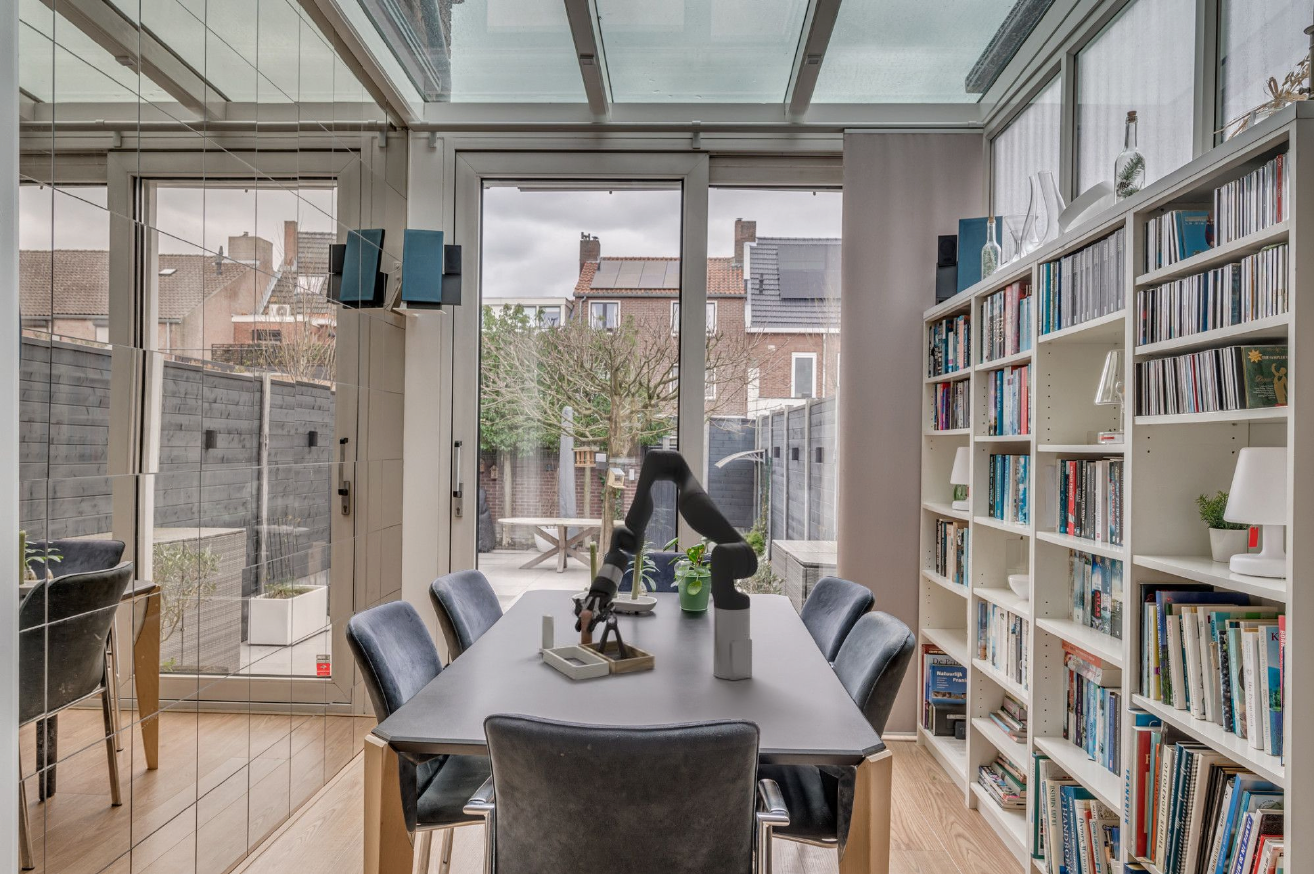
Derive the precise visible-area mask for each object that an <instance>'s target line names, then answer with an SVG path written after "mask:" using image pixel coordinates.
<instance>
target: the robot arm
mask: <svg viewBox="0 0 1314 874" xmlns="http://www.w3.org/2000/svg"><path fill="white" fill-rule="evenodd" d="M642 461H643V462H642V464H641V468H640V473H639V476H638V481H637V484H636V489H635V493H634V496H633V498H632V499H633V500H632V502H631V505H630V506H629V509H628V510H627V514H626V516H625V518H624V525H625V526H624V525H619V526H617V527H615V528H614V529H613V530H612V533H611V536H610V544H609V548H608V549H609V550H608V552H607V555H606V557H605V559H604V561H603V563H602V565H601V567H600V569H599V570H598V572H597V574H596V575H595V577H594V578H593V579H594V580H593V581H592V583H591V585H590V587H589V591H588V594H587V595H586V596H585V597H584V598H583V599H582V598H581V599H580V597H577V598H576V599H575V607H574V615H575V617H576V618H577V620H576V623H575V624H574V630H575V631H576V632H577V633H581V612H582V611H592V619H591V620H590V622H589V624H588V626H587V628H586V631H587V633H588V634H591V633H592V634H593V633H594V631H595V629H596V626H597V624H599V623H606V616H607V614H608V613H610V616H611V615H613V613H615V611H616V610H617V609H618V608H617V606H616V605H615V603H614V602H613V599H614V597H615V595H616V593H617V591H618V589H619V586H620V585H621V583H622V578H623V576H624V574H625V573H626V570H627V568H628V567H629V563H630V560H629V557H628V556H627V555H626V554H629V555H631V556H637V555H639V554H640V553H641V552H642V551H643V548H644V546H645V539H646V538H645V536H646V530H647V526H648V524H649V523H650V520H651V518H652V516H653V512H654V508H655V507H654V500H653V497H652V492H651V491H652V490H651V489H652V487H653V485H654V483H655V482H656V481H658V482H666V481H667V482H672V483H673V484H675V485H676V487H677V489H678V490H679V494H678V500H677V509H678V511H679V513H680V515H681V516H682V518H683V520H684V521H685V522H686V523H687V525H688V526H689V527H690V528H691V529H692V530H693V531H695V532H696V534H697V533H698V534H699V535H700V536H702V537H704V538H706V539H708V540H709V541H711V542H713V543H714V544H716V545H715V546H714V547H713V549H712V550H711V554H710V560H709V564H710V566H709V568H710V569H709V570H710V571H709V572H710V588H711V589H710V590H711V595H712V599H713V676H714V677H716V678H719V679H724V680H731V681H737V680H742V679H749V678H752V677H753V639H751V597H750V595H748V594H746V593H744V592H741V591H738V590H737V589H736V587H735V581H736V580H737V581H738V580H744V579H749V578H752V577H753V576H754V575H756V574H757V572H758V568H759V560H758V557H757V554H756V552H755V550H754V548H753V546H752V545H751V544H750V543H749V542H748V541H747V540H746V539H745V538H744V537H743V536H742V535H741V534H740V532H738V530H736V529H735V527H734V526H732V524H731V523H730V521H729V520H728V519H727V518H726V516H725V515H724V514H723V513H722V512H721V511H720V509H719V508H718V506H717V505H716V503H715V502H714V501H713V499H712V498H711V496H710V495H709V494H708V493H707V492H706V491H705V490H704V489H705V488H703V487H702V485H701V484H700V482H699V481H698V480H697V478H696V477H695V475H694V473H693V471H692V469H691V468H690V467H689V465H688V462H687V461H686V459H685V458H684V456H683V455H682V454H681V453H680V451H678V450H676V449H672V448H671V449H669V448H667V449H666V448H655V449H650V450H649V451H648V452H646V454H645V456H644V459H643V460H642ZM625 553H626V554H625Z"/></svg>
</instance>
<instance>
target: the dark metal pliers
mask: <svg viewBox="0 0 1314 874" xmlns="http://www.w3.org/2000/svg"><path fill="white" fill-rule="evenodd" d="M612 617H613V619H614V621H613V622H612V621H609V620H610V619H611V615H610V613H608V614H607V616H606V621H605V626H604V629H603V632H602V635H601V637H600V640H599V642H598V643H599V645H598V648H597V651H596V652H598V653H600V654H602V655H604V656H606V657H608V658H610V659H612V660H614V661H618V660H625V659H629V656H628V654H627V651H626V649H625V646H624V643H623V642H624V641H623V637H622V635H621V633H620V629H619V626H618V616H617V614H616V613H615V612H613V613H612ZM610 631H614V634H615V635H614V636H615V640H617V643H618V647H619V651H620V652H619V654H605V653H604V650H605V646H606V642H607V641H608V639H609V634H610Z"/></svg>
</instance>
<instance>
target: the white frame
mask: <svg viewBox="0 0 1314 874" xmlns="http://www.w3.org/2000/svg"><path fill="white" fill-rule="evenodd" d="M541 617H542V619H541V620H542V626H541V627H542V628H541V630H542V631H541V647H539V648H538V649H539V652H540V654H543V655H542V657H543V662H545V663H546V664H548V665H550V666H551V667H553V668H554V669H556V670H558V671H560V672H561V673H562V674H563V675H566V676H567V677H569V678H571V679H572V680H583V679H589V678H596V677H602V676H608V675H609V674H610V672H609V662H607V661H605V660H604V659H602V658H600V657H598V656H596V655H594V654H592V653H590V652H588V651H586V650H584V649H582V648H580V647H579V646H578V644H577V645H568V646H562V647H561V646H560V647H555V645H554V643H555V642H554V640H555V635H554V633H555V632H554V631H555V628H554V627H555V625H554V624H555V615H554V614H544V615H543V614H542V616H541ZM573 658H575V659H576V660H579V661H581V662H582V663H583V665H579V666H578V665H577V666H576V665H574V664H573V663H571V662H569V661H568V660H566V659H573Z"/></svg>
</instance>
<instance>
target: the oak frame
mask: <svg viewBox="0 0 1314 874" xmlns="http://www.w3.org/2000/svg"><path fill="white" fill-rule="evenodd" d="M592 616H593V613H592V611H582V612H581V631H580V641H581V642H578V643H577V646H578V647H580V648H582V649H584V650H586V651H588V652H590V653H592V654H594V655H596V656H598V657H600V658H602V659H604V660H605V661H607V662H609V673H611V674H622V673H629V672H630V673H631V672H636V671H641V670H642V671H643V670H649V669H653V668H655V665H656V664H655V659H656V657H655V655H653V654H651V653H650V652H647V651H645V650H642V649H640V648H638V647H636V646H634V645H632V644H629V643H627V642H625V641H623V643H624V646H625V649H626V651H627V654H628V659H625V660H618V661H614V660H612V659H610V658H608V657H606V656H604V655H605V654H610V653H616V652H618V653H620V651H619V647H618V643H617V639H615V640H609V641H608V640H607V642H606V646H605V650H604V653H603V655H602V654H600V653H598V652H596V651H597V648H598V645H599V642H593V632H592V633H591V634H588V633H587V631H586V628H587V626H588V624H589V622H590V620H591V619H593V618H592Z"/></svg>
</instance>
